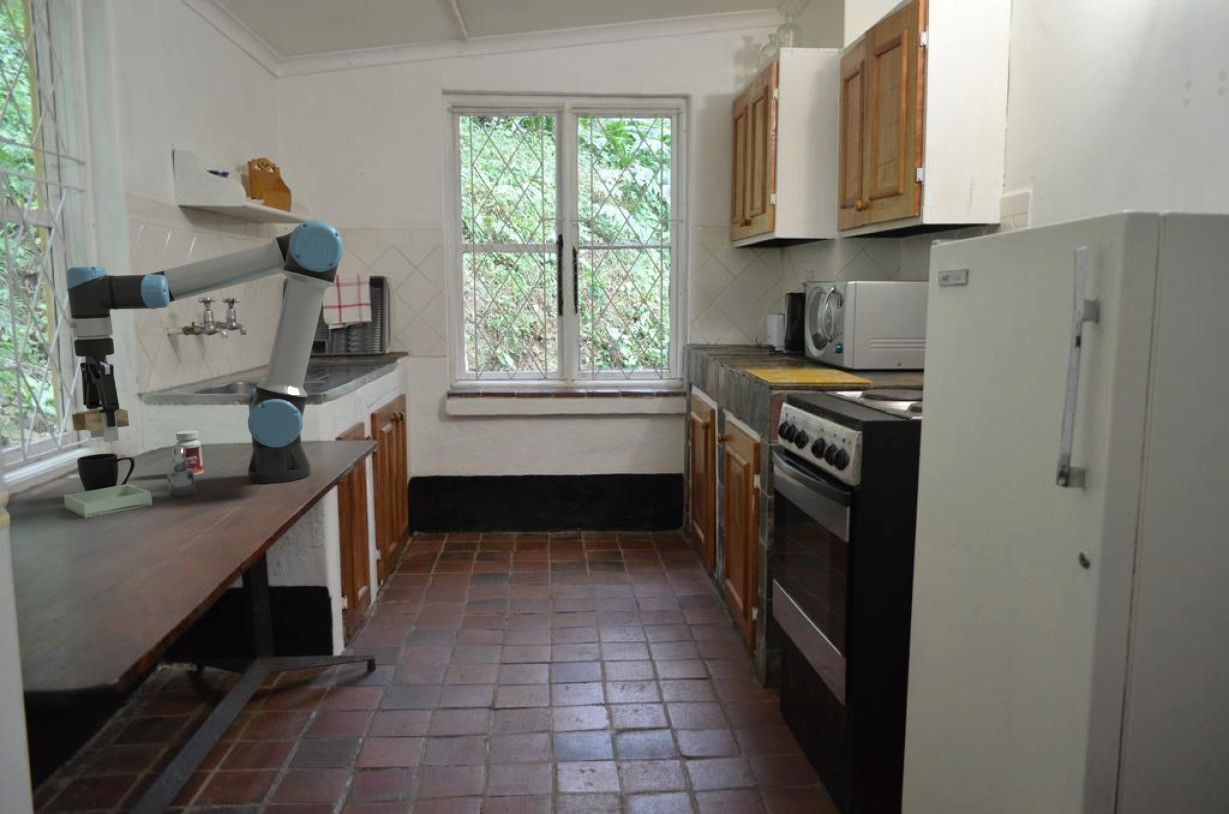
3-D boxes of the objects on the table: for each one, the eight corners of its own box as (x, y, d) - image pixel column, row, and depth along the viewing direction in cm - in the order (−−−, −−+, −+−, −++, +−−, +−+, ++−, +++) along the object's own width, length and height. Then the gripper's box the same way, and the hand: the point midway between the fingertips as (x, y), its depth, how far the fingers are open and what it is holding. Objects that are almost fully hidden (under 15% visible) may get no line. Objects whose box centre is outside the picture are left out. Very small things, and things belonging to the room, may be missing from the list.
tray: (130, 496, 209) (128, 483, 209) (152, 504, 200) (150, 492, 200) (65, 508, 199) (63, 495, 199) (85, 518, 190) (84, 504, 190)
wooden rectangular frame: (116, 422, 203) (114, 407, 203) (129, 425, 198) (127, 410, 197) (69, 428, 196) (67, 413, 196) (81, 432, 191) (79, 416, 190)
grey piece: (200, 492, 211) (195, 445, 209) (189, 498, 205) (184, 449, 204) (176, 493, 211) (171, 445, 209) (165, 499, 205) (160, 450, 204)
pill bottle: (177, 478, 228) (172, 434, 226) (178, 473, 234) (174, 431, 232) (203, 475, 230) (199, 432, 229) (204, 470, 236) (200, 429, 234)
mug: (130, 497, 208) (126, 458, 206) (75, 501, 206) (70, 461, 205) (143, 489, 216) (139, 451, 214) (90, 493, 214) (85, 454, 213)
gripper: (59, 337, 199) (70, 437, 202) (90, 340, 185) (102, 446, 188) (95, 335, 204) (106, 432, 208) (129, 337, 190) (140, 441, 194)
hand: (104, 439), depth 198 cm, fingers closed on wooden rectangular frame, 8 cm apart
